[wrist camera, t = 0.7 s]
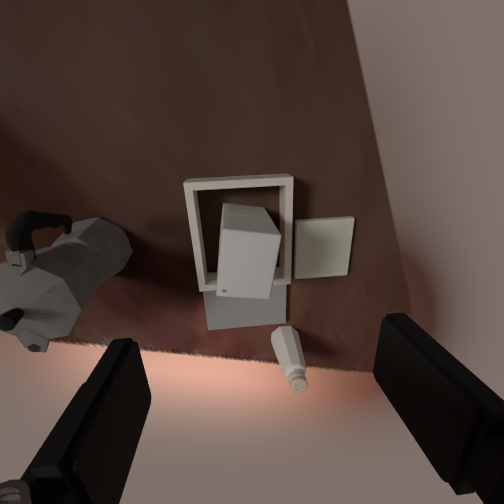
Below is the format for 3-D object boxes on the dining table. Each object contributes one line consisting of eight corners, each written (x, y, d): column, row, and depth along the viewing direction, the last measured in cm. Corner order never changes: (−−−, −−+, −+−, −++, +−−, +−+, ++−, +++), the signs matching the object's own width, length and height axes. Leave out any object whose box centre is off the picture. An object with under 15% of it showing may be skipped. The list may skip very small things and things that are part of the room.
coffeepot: (132, 287, 41) (68, 384, 24) (70, 279, 39) (-45, 377, 23) (135, 193, 35) (52, 237, 18) (61, 180, 33) (-100, 215, 17)
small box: (257, 255, 40) (270, 301, 28) (218, 251, 39) (214, 297, 28) (265, 206, 37) (283, 234, 25) (222, 201, 36) (220, 228, 24)
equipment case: (188, 178, 35) (183, 182, 31) (286, 173, 36) (293, 176, 32) (208, 326, 45) (207, 342, 41) (284, 319, 46) (289, 334, 42)
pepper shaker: (266, 330, 47) (277, 381, 37) (293, 320, 46) (311, 369, 36) (275, 350, 49) (288, 403, 39) (301, 341, 49) (320, 392, 38)
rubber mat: (295, 219, 38) (297, 221, 38) (351, 216, 39) (354, 217, 38) (293, 276, 42) (295, 279, 42) (344, 272, 43) (347, 274, 42)
